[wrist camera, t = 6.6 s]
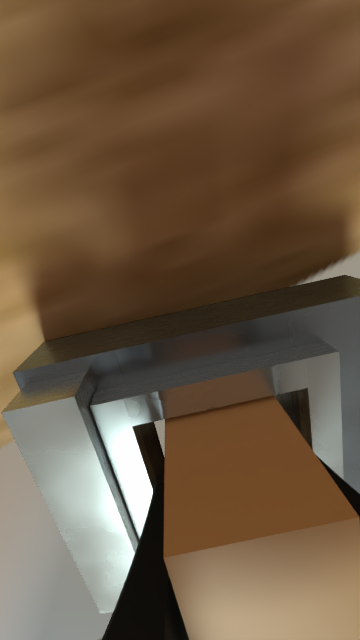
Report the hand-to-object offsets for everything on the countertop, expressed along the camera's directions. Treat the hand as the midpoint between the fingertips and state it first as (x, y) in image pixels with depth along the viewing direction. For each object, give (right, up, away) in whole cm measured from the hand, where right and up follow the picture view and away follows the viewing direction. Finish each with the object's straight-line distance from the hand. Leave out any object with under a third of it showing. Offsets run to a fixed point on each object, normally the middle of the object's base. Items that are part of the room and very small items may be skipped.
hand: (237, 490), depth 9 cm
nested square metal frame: (0, +1, +4) cm, 4 cm away
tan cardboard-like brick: (0, +2, +2) cm, 3 cm away
